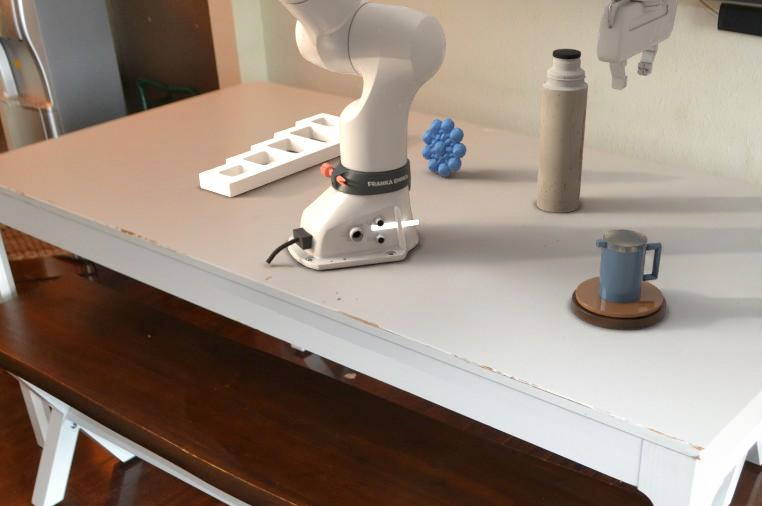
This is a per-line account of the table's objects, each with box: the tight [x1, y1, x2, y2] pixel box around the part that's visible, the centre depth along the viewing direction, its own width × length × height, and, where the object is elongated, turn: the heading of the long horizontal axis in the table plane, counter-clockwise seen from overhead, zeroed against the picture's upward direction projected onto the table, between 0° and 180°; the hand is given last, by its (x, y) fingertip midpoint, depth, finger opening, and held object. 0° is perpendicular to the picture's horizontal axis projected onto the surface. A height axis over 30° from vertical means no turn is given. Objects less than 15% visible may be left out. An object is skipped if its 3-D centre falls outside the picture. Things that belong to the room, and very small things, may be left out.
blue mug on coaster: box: [575, 228, 664, 318], centre depth 145 cm, size 13×13×10 cm
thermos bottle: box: [536, 48, 589, 214], centre depth 177 cm, size 8×8×28 cm
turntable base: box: [570, 289, 667, 331], centre depth 148 cm, size 14×14×2 cm
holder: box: [198, 112, 341, 198], centre depth 207 cm, size 45×18×3 cm, turn 143°
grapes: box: [421, 117, 467, 178], centre depth 195 cm, size 12×7×12 cm, turn 45°
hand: (631, 81), depth 148 cm, fingers open, 8 cm apart
